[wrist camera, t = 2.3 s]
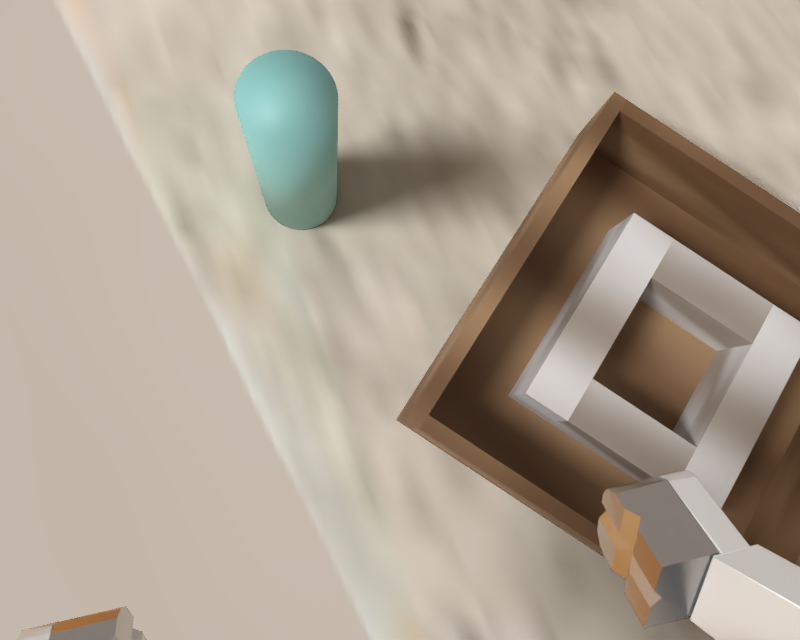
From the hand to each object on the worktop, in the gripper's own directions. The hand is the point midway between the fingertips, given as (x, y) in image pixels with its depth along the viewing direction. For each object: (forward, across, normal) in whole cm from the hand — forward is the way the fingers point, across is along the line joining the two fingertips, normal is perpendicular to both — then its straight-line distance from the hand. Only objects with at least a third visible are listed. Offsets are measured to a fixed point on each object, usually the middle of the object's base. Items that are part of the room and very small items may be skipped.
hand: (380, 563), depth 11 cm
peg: (+21, 0, +3) cm, 21 cm away
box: (+13, -14, +10) cm, 22 cm away
